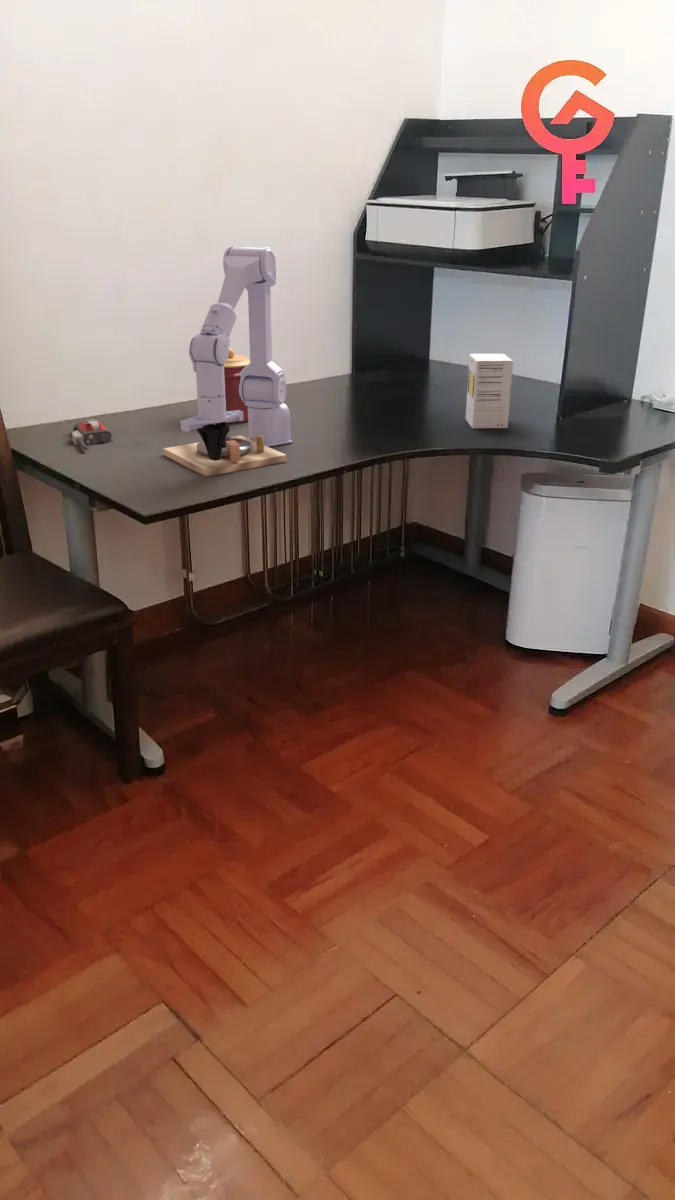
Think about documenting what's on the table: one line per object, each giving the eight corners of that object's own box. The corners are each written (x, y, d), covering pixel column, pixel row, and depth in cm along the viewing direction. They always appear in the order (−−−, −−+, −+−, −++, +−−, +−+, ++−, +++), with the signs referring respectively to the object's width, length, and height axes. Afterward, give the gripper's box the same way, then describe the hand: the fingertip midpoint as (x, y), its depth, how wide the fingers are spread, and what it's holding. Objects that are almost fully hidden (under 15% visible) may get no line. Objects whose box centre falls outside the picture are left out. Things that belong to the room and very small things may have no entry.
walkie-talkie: (65, 434, 230) (81, 455, 213) (63, 416, 228) (79, 436, 212) (101, 430, 233) (120, 450, 217) (100, 413, 232) (118, 431, 215)
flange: (191, 444, 213) (190, 429, 211) (243, 440, 217) (242, 425, 215) (208, 464, 199) (207, 447, 198) (262, 458, 203) (262, 442, 202)
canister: (203, 423, 239) (200, 352, 231) (209, 411, 250) (206, 343, 243) (255, 423, 239) (253, 352, 232) (258, 411, 251) (256, 343, 243)
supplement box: (464, 419, 244) (468, 353, 237) (499, 419, 245) (504, 352, 238) (472, 429, 235) (476, 360, 228) (508, 428, 236) (514, 359, 229)
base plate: (241, 441, 223) (240, 420, 221) (286, 461, 208) (286, 439, 206) (163, 454, 213) (162, 433, 210) (206, 476, 198) (204, 453, 196)
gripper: (228, 386, 201) (231, 449, 206) (170, 396, 192) (174, 461, 197) (248, 392, 196) (250, 455, 202) (190, 402, 187) (194, 468, 193)
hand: (214, 459), depth 199 cm, fingers closed
